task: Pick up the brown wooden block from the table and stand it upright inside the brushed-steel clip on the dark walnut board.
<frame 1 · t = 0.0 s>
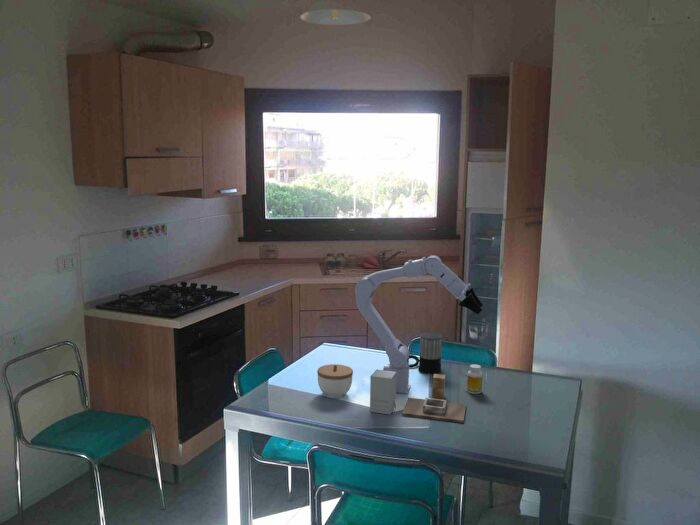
hand: (480, 309, 212), 32 cm above the table, tool tilted 50°, fingers open, 7 cm apart
supplement box: (382, 410, 205), on the table
milk frother: (420, 369, 247), on the table
holder board: (434, 410, 205), on the table
supplement bottle: (473, 392, 223), on the table
brown wooden block: (438, 397, 216), on the table
lidded bowl: (334, 394, 217), on the table
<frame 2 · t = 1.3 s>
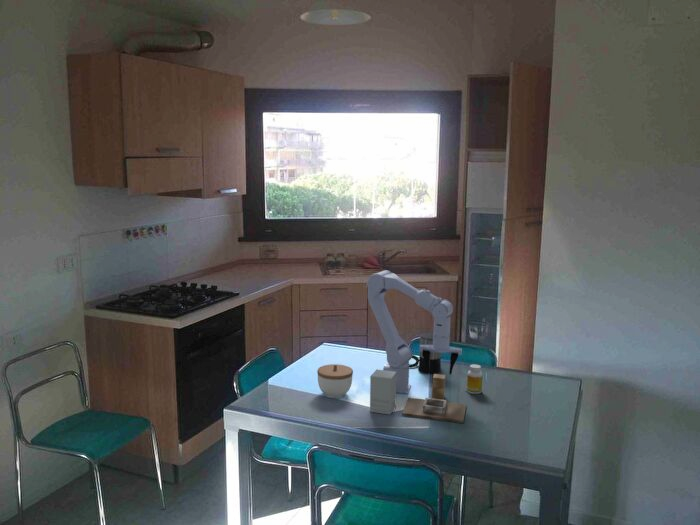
hand: (439, 372, 215), 9 cm above the table, tool pointing down, fingers open, 7 cm apart
nothing on the table moved.
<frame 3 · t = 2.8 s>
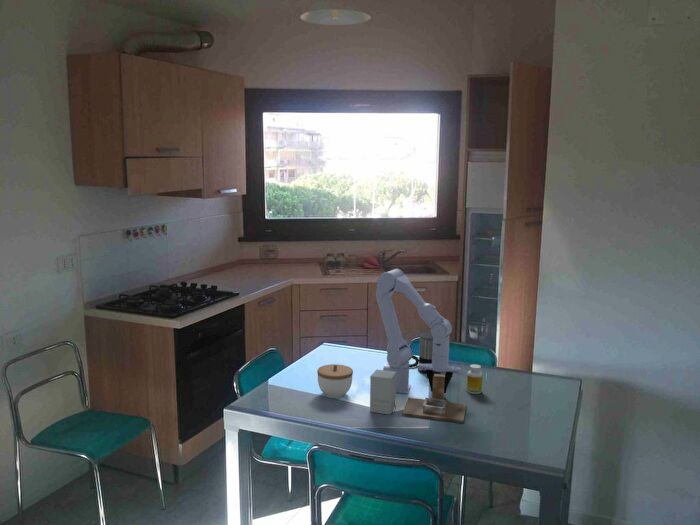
hand: (438, 391, 216), 2 cm above the table, tool pointing down, fingers closed on brown wooden block, 4 cm apart
brown wooden block: (438, 397, 216), on the table, touching gripper
everything else where it was.
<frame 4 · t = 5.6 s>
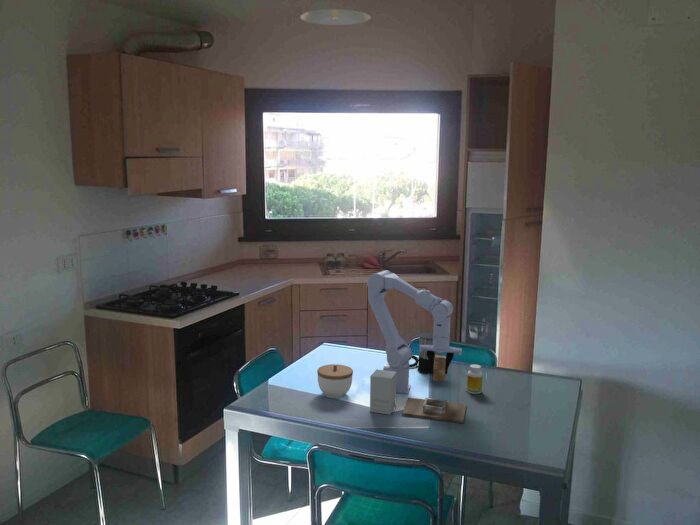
hand: (439, 372, 215), 9 cm above the table, tool pointing down, fingers closed on brown wooden block, 4 cm apart
brown wooden block: (439, 379, 215), point 7 cm above the table, touching gripper
everything else where it was.
when the fingers open (4 cm above the table, at t = 8.8 s): brown wooden block stays where it is, resting on holder board.
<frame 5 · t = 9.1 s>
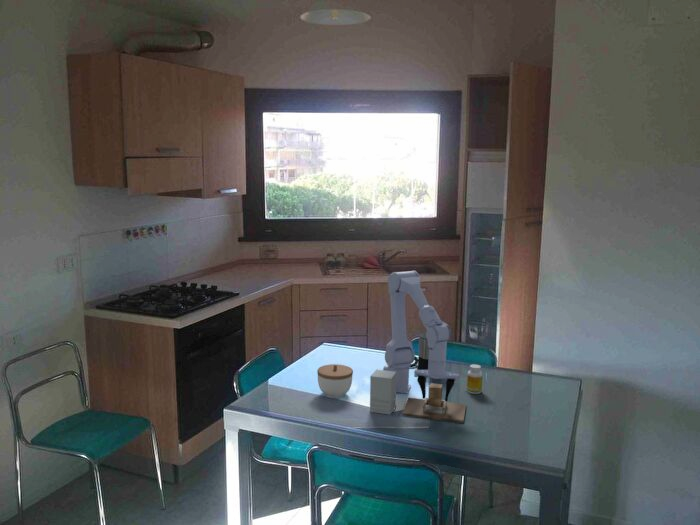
hand: (435, 398, 204), 4 cm above the table, tool pointing down, fingers open, 7 cm apart
brown wooden block: (434, 408, 205), point 1 cm above the table, touching holder board
everything else where it was.
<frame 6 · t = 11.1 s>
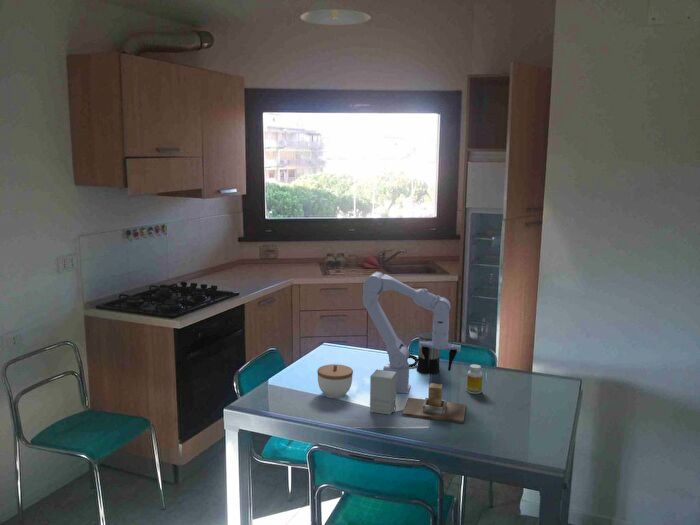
hand: (438, 368, 219), 9 cm above the table, tool pointing down, fingers open, 7 cm apart
nothing on the table moved.
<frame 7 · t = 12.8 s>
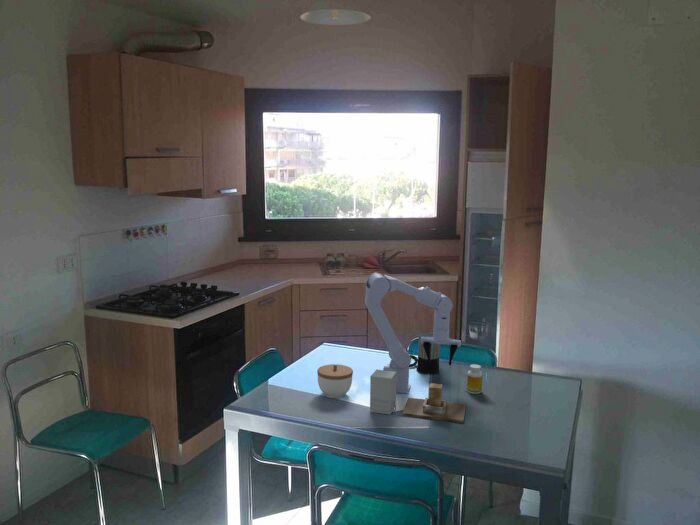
hand: (439, 363, 225), 9 cm above the table, tool pointing down, fingers open, 7 cm apart
nothing on the table moved.
at the end: brown wooden block 0.0 cm off-centre on the holder board, point 0.8 cm above the holder board's base; brown wooden block tilted 0°; the gripper is holding nothing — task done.
